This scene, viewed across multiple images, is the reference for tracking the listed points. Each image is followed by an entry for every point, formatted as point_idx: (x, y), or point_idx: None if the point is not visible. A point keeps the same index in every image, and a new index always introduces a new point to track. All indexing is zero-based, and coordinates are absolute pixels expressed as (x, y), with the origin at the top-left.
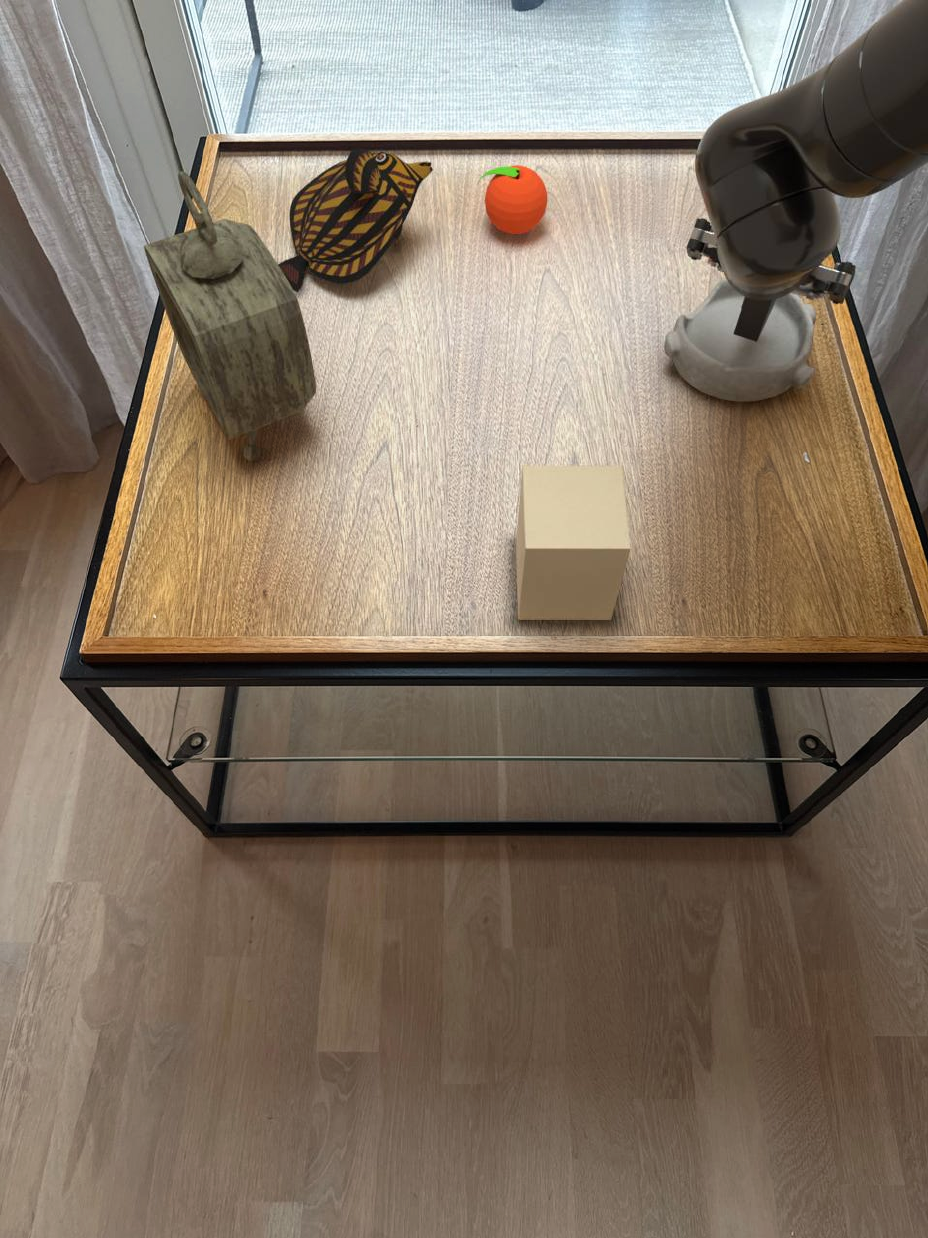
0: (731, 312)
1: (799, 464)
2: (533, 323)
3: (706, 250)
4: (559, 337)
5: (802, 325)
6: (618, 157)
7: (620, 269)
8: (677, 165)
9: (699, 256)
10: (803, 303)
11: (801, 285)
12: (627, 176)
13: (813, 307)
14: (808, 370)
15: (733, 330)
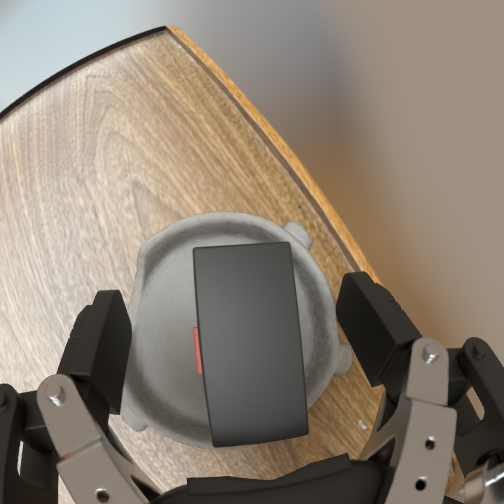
0: (183, 276)
1: (359, 437)
2: (3, 377)
3: (51, 445)
4: (28, 389)
5: (304, 273)
6: (28, 103)
7: (37, 243)
8: (76, 80)
9: (57, 498)
10: (292, 238)
11: (388, 466)
12: (34, 116)
13: (304, 229)
14: (347, 360)
15: None
